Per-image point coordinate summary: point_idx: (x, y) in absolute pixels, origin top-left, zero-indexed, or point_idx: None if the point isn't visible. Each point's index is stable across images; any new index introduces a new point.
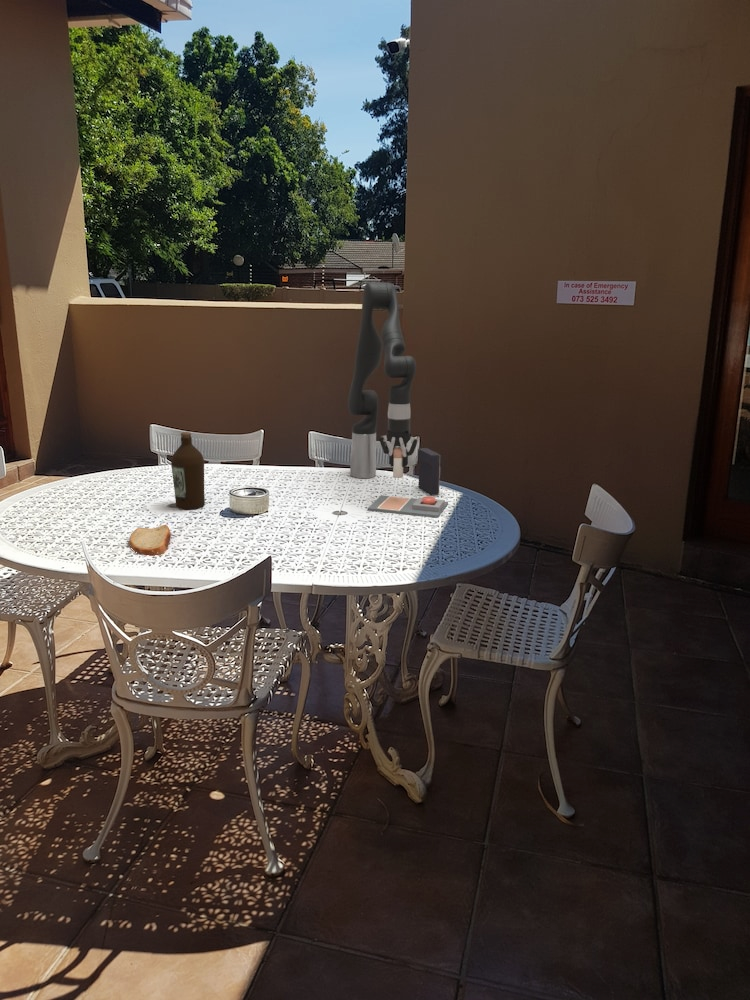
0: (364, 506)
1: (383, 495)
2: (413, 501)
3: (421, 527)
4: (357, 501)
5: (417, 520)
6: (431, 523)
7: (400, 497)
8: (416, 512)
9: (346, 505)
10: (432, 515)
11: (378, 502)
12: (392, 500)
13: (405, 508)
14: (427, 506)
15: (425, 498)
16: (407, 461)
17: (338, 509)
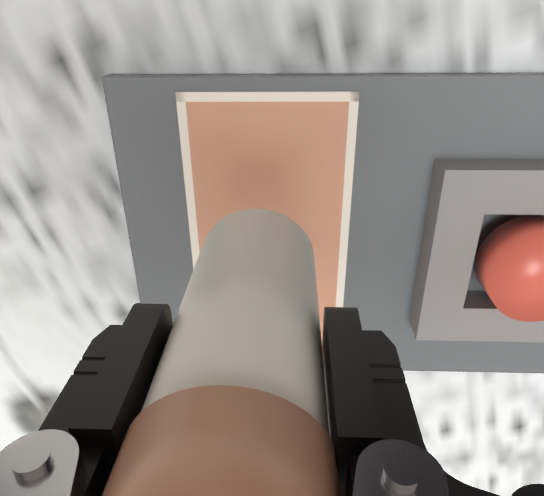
0: (105, 300)
1: (121, 79)
2: (392, 160)
3: (477, 483)
4: (11, 224)
5: (451, 418)
6: (525, 436)
7: (272, 97)
8: (441, 361)
9: (3, 312)
10: (536, 370)
11: (163, 257)
12: (237, 193)
13: (364, 316)
14: (518, 341)
15: (515, 288)
16: (400, 391)
17: (9, 378)
